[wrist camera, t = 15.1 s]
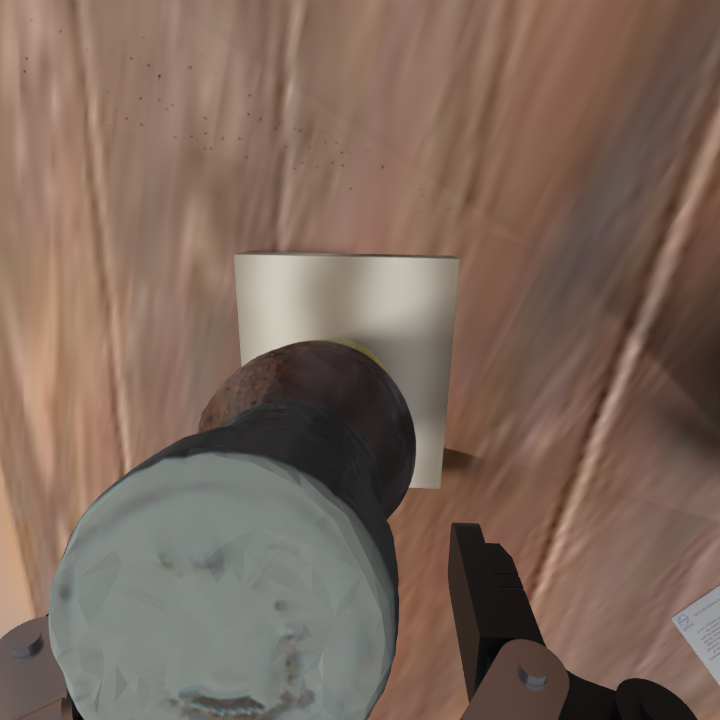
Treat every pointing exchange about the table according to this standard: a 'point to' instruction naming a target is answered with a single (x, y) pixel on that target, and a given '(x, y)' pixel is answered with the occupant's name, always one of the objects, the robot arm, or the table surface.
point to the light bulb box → (703, 629)
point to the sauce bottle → (247, 553)
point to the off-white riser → (362, 323)
